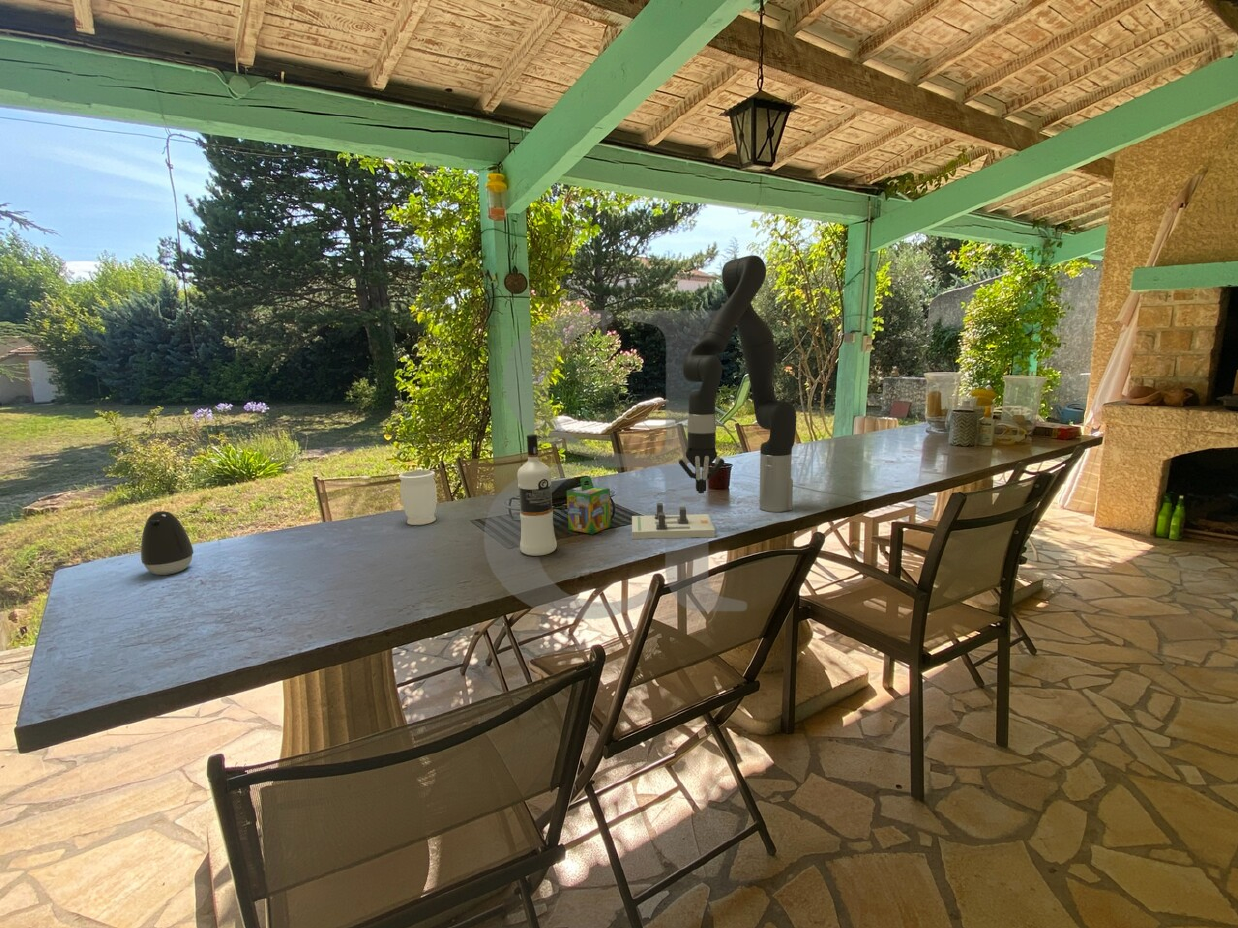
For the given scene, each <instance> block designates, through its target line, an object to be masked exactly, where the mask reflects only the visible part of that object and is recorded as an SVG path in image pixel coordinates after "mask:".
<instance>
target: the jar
mask: <svg viewBox="0 0 1238 928" xmlns="http://www.w3.org/2000/svg"><path fill="white" fill-rule="evenodd" d="M435 476H436V472H435V471H434V470H428V469H427V470H423V469H422V470H411V471H407V472H402V473H400V474H399V475H398V478H399V479H398V480H400V487H399V488H400V489H399V490H400V491H399V492H400V499H401V503H402V506H403V510H404V513H405V515H406V517H407V521H406V523H407V524H408V525H411V526H422V525H428V524H431V523H433V522H435V521H436V519H437V518H436V516H435V515H434V514H435V513H436V509H437V497H438V493H437V491H438V490H437V485H436V484H437V483H436V481H435V479H434V477H435Z"/></svg>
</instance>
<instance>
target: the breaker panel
mask: <svg viewBox="0 0 1238 928" xmlns="http://www.w3.org/2000/svg"><path fill="white" fill-rule="evenodd" d="M686 518H687V519H688V523H678V520H677V519H680V514H670V515H669V514H667V515H666V514H665V524H667V529H657V527H656V524H659V520H658V518H655V515H632V516H631V532H632V533H631V534H632V540H646V538H657V539H689V538H691V537H700V538H715V537H716V528H715V527H714V524H713V522H712V520H711V518H710V516H709V514H708V513H705V514H699V513H698V514H697V513H696V514H686Z"/></svg>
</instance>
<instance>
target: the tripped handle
mask: <svg viewBox="0 0 1238 928" xmlns="http://www.w3.org/2000/svg"><path fill="white" fill-rule="evenodd" d="M678 508H679V510H678V511H679V515H680V519H677V520H678V523H688V519H687V518H686V515H687V508H686V507H685V506H682V507H681V506H680V507H678Z"/></svg>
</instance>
